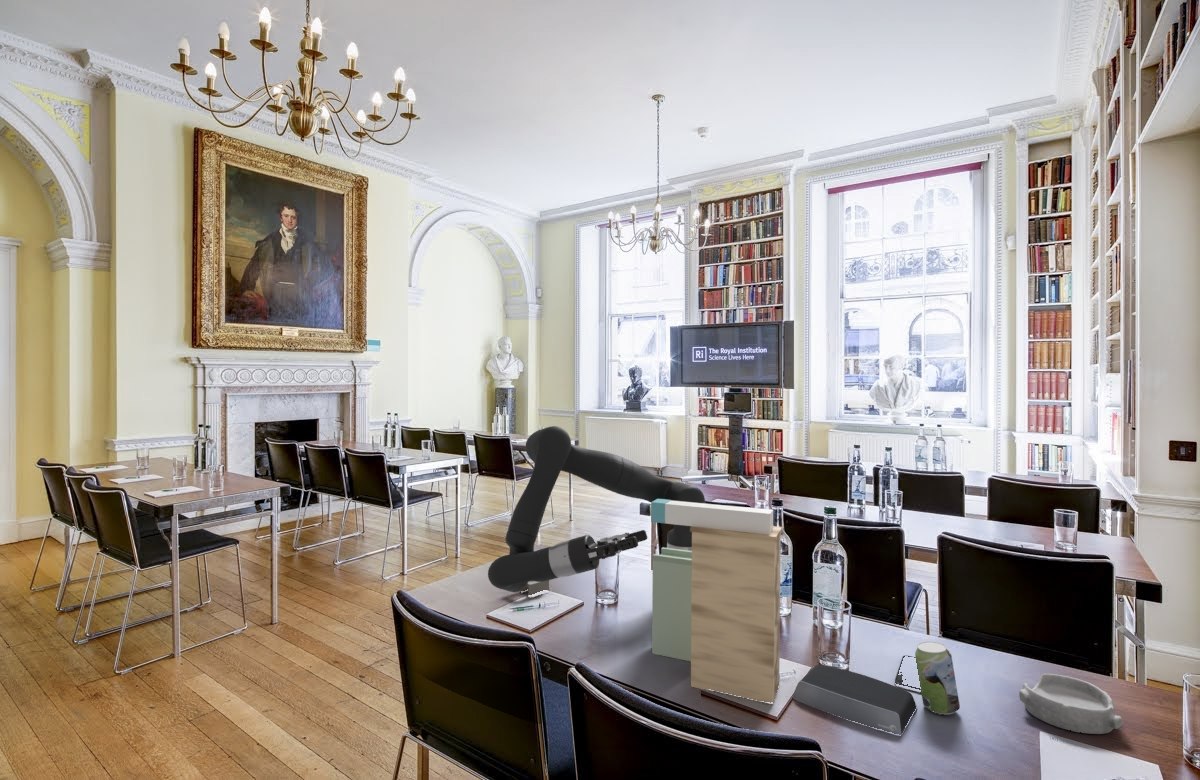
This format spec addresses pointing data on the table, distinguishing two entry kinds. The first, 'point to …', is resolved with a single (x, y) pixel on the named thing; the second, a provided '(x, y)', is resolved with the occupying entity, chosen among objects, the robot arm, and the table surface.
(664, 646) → the sage green upright box
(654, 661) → the table surface
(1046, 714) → the dish
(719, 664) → the oak stand
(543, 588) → the architectural model
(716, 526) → the white teal square bar
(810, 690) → the external hard drive
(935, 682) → the beverage can
